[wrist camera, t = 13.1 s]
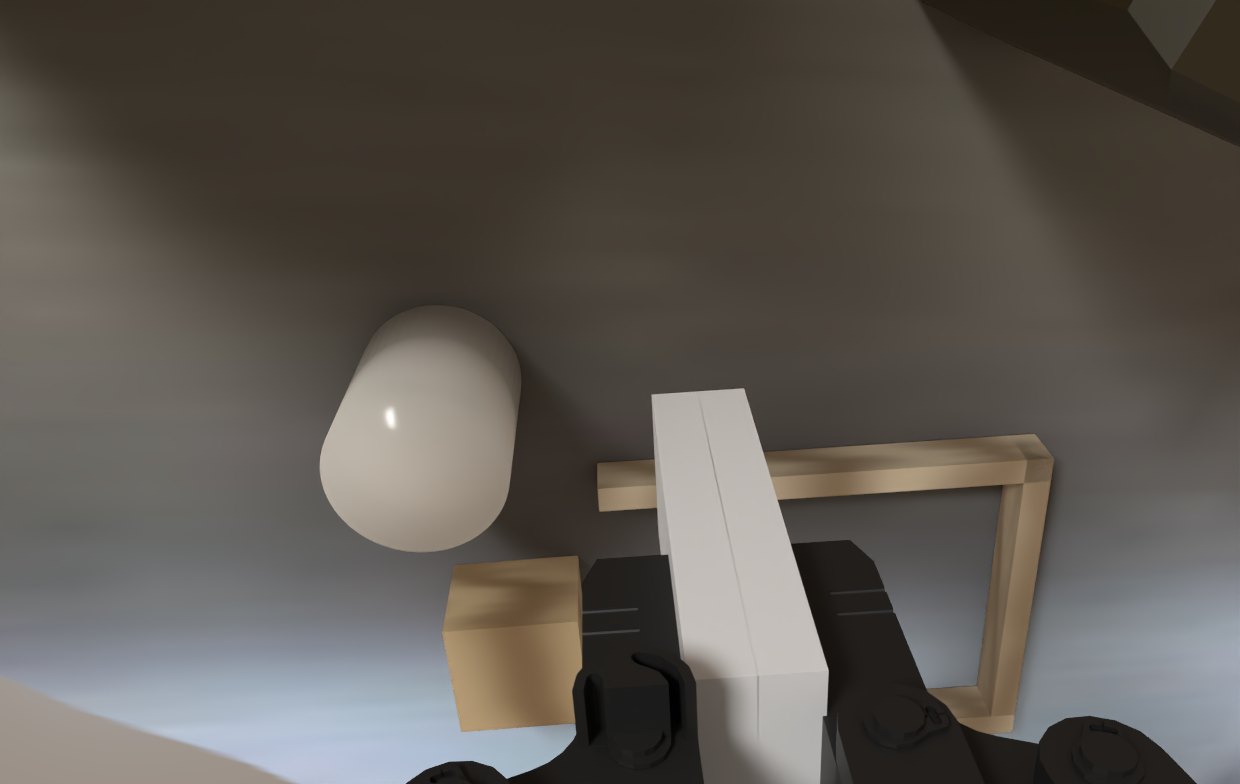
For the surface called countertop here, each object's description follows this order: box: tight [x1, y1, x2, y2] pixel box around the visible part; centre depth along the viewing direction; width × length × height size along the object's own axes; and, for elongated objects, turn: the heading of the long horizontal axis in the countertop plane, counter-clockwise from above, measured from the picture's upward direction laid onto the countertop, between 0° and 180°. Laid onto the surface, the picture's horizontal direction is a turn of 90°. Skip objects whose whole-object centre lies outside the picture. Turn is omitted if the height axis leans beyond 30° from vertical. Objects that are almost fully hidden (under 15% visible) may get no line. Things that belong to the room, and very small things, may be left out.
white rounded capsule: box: [320, 305, 522, 552], centre depth 42 cm, size 7×7×8 cm
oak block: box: [442, 556, 582, 732], centre depth 50 cm, size 6×6×5 cm
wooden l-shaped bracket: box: [597, 434, 1054, 734], centre depth 51 cm, size 20×16×2 cm
